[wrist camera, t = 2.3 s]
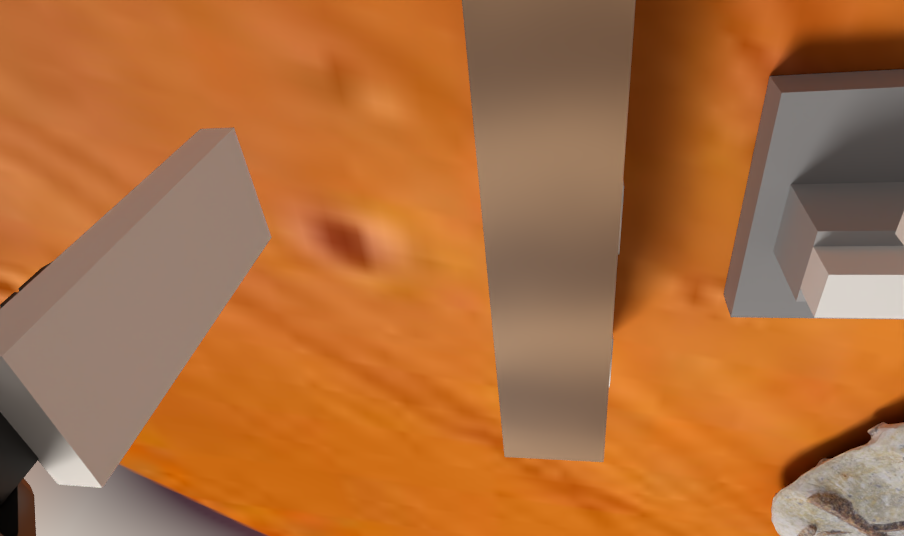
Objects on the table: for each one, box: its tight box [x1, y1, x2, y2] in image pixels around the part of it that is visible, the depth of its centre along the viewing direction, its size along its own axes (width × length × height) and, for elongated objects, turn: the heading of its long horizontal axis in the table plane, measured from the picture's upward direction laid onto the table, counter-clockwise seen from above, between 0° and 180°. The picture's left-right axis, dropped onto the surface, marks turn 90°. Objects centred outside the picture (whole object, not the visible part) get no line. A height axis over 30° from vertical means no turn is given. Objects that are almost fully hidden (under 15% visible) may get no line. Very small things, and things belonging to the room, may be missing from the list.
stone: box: [772, 422, 904, 536], centre depth 32 cm, size 12×9×3 cm
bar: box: [462, 0, 636, 462], centre depth 21 cm, size 20×4×4 cm, turn 6°
